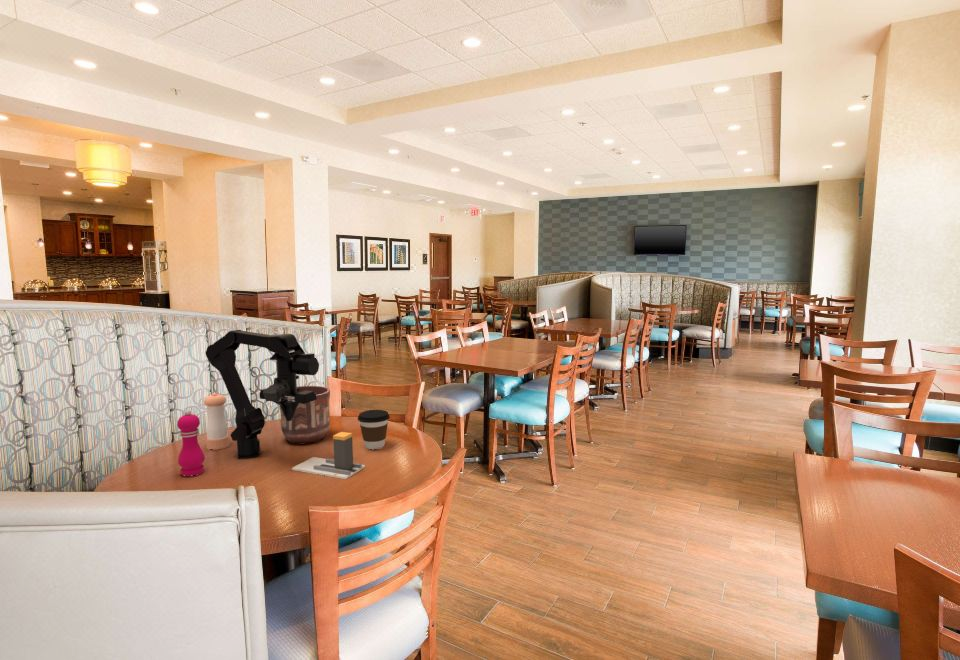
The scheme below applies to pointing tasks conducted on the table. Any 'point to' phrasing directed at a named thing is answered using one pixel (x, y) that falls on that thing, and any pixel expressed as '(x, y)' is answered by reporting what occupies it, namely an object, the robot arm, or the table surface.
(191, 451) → the pepper mill
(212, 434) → the pepper shaker
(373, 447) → the coffee cup
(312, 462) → the plate
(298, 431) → the pottery
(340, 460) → the fader knob
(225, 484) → the table surface
